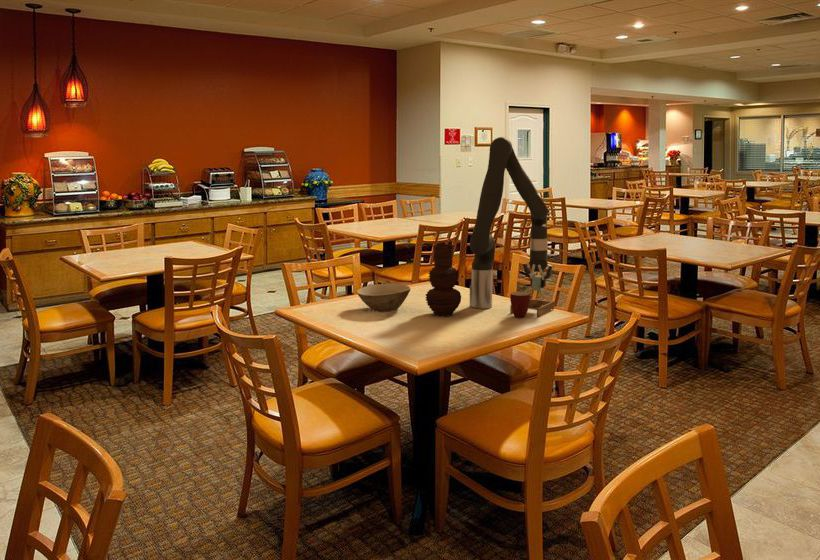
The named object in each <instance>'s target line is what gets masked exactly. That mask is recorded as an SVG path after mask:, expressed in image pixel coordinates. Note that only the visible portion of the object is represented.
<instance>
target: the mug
mask: <svg viewBox="0 0 820 560" xmlns="http://www.w3.org/2000/svg"><path fill="white" fill-rule="evenodd" d="M530 299H531V293H529V292H526V291H513V292H510V299H509V300H510V305H511V307H512V312H513V313H512V315H513V316H514V317H515V318H518V319H522V318H523V319H524V318H525V317H526V315H527V313H528V311H529V308H530V307H529V302H530Z"/></svg>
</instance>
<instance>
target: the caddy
mask: <svg viewBox="0 0 820 560" xmlns="http://www.w3.org/2000/svg"><path fill="white" fill-rule="evenodd" d="M542 305H543V306H542ZM536 307H538V308H536ZM509 308H510V311H509V312H510V313H509V314H513V312H512V307H511V304H510V307H509ZM528 308H536V318H540V317H541V315H542V316H543V314H544V315H545V313H546V314H547V312H548V313H549V311H550V310H551V309H554V310H555V301H552V300H546V299H545V300H543V299H537V298H536V299H534V298H530V302H529V307H528ZM550 312H551V311H550Z"/></svg>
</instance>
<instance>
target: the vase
mask: <svg viewBox="0 0 820 560" xmlns="http://www.w3.org/2000/svg"><path fill="white" fill-rule="evenodd" d="M432 247H433V256H434V257H433V263H434V264H433V265H434V267H432V268H431V269H430V270H429V272H428V280H429V283H430V285H431V287H432V288H431V289H429V290H428V291H426V294H425V296H426V297H425V299H424V300H425V301H426V304H427V306H428V307H429V309H431V311H432V313H433V314H434V316H437V317H445V318H446V317H451V316H453V315H454V313H455V311H456V310H457V309H458V307H459V306H460V304H461V301H462V295H461V292H460V291H459V290H458V289H456V288H454V287H456V285H457V282H458V278H459V273H458V271H457V269H456V268H454V267H453V265H454V264H453V257H454V256H453V255H454V247H455V244H452V243H451V244H448V243H441V244H439V243H438V244H433V245H432Z"/></svg>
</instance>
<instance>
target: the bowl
mask: <svg viewBox="0 0 820 560" xmlns="http://www.w3.org/2000/svg"><path fill="white" fill-rule="evenodd" d="M410 292H411V287H410V286H408V285H406V284H400V283H382V284H380V283H379V284H373V285H368V286H367V285H365V286H362V287H361V288H359V289H358V290H357V291H356V293H357V295H358V297H359V298H360V300H361V301H362V302H363V303H364V304H365V305H366V306H367V307H368V308H370V310H371V311H373V310H374V312H376V311H378V313H389V312H394V311H397V310H399V308H400V307H402V305H403V304H404V302H405V301H406V299H407V297H408V296H409V293H410Z"/></svg>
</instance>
